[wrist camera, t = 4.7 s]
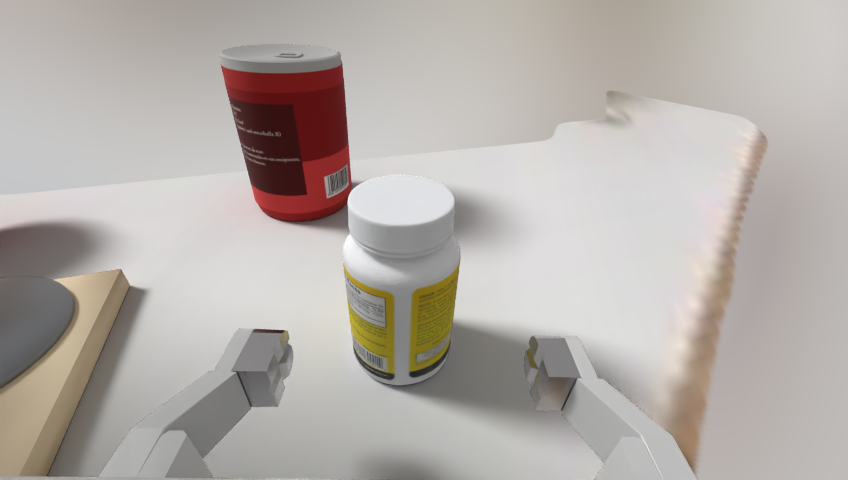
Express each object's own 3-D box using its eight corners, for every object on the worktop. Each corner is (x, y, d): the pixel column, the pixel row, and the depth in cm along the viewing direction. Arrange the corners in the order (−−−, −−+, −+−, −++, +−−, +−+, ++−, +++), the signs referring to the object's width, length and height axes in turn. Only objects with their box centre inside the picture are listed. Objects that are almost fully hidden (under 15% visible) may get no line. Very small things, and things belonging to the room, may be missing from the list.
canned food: (348, 175, 34) (337, 44, 28) (357, 218, 28) (346, 61, 21) (262, 181, 32) (229, 42, 26) (250, 228, 26) (204, 60, 20)
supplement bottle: (445, 312, 20) (461, 171, 15) (453, 389, 16) (477, 233, 11) (359, 310, 20) (347, 168, 15) (345, 388, 16) (324, 229, 11)
